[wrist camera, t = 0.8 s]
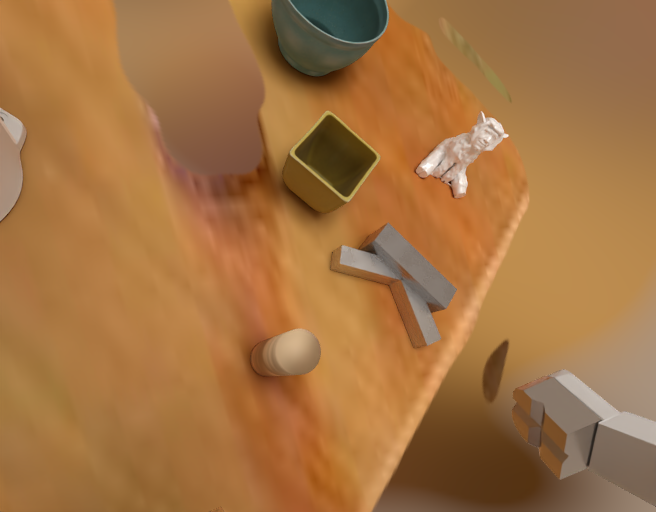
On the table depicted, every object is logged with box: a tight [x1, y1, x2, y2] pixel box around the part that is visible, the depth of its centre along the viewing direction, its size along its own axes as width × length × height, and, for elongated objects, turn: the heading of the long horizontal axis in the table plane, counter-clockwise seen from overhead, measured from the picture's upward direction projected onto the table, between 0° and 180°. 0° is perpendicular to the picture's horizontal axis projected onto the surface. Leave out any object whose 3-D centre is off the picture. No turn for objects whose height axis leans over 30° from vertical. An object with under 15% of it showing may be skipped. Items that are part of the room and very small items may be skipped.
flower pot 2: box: [282, 111, 380, 213], centre depth 49 cm, size 9×9×9 cm
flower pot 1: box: [272, 0, 389, 76], centre depth 55 cm, size 16×16×11 cm
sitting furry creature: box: [416, 111, 509, 198], centre depth 60 cm, size 10×9×12 cm
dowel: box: [250, 329, 321, 377], centre depth 39 cm, size 4×4×11 cm
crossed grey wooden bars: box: [330, 223, 457, 347], centre depth 51 cm, size 18×8×5 cm, turn 52°
